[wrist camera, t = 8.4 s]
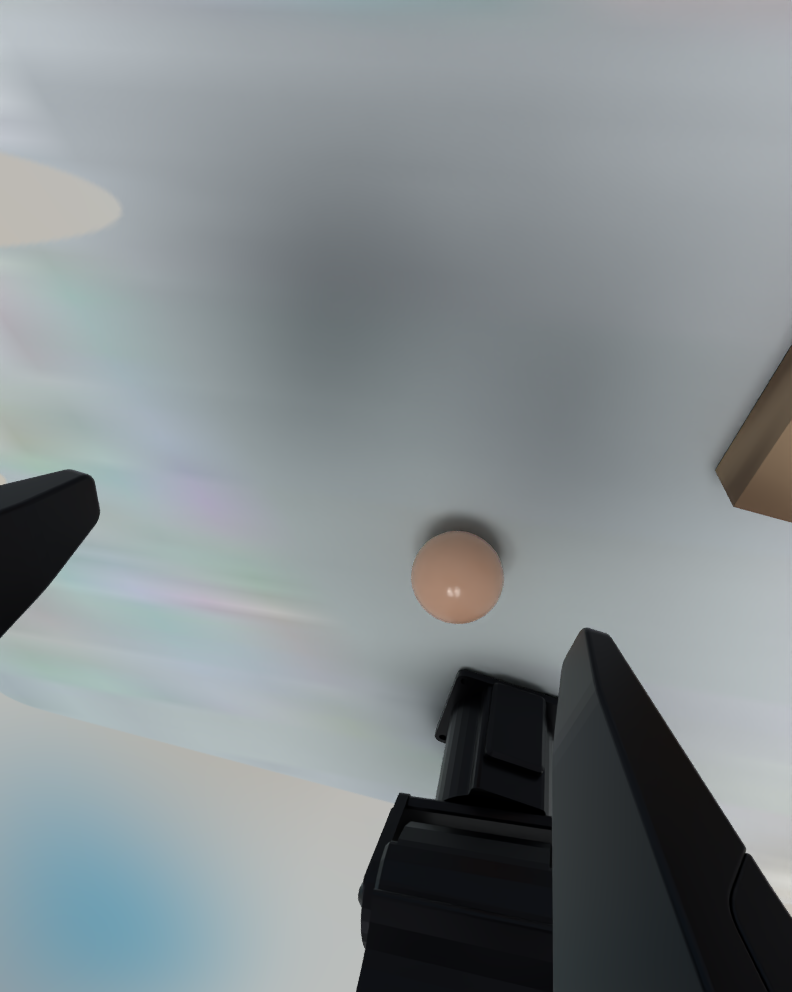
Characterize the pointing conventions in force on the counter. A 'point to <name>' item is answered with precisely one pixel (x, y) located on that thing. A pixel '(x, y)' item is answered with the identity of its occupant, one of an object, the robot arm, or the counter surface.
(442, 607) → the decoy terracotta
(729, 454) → the brown recessed board
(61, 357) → the counter surface
